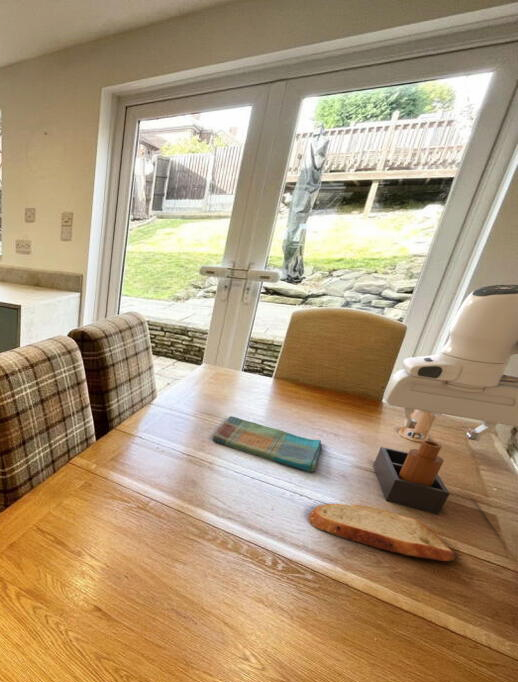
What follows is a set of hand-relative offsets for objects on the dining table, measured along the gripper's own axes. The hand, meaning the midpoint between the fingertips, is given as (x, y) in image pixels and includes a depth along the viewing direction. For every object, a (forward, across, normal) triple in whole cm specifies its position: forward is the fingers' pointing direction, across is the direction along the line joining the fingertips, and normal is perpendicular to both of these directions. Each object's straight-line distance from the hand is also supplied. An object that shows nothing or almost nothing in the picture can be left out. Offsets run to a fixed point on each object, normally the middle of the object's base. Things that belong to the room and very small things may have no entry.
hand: (439, 432), depth 82 cm
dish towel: (+16, +28, -8) cm, 33 cm away
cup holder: (+16, 0, -4) cm, 17 cm away
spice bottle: (+16, 0, 0) cm, 16 cm away
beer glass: (+17, -8, -37) cm, 41 cm away
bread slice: (+17, +9, +19) cm, 27 cm away
